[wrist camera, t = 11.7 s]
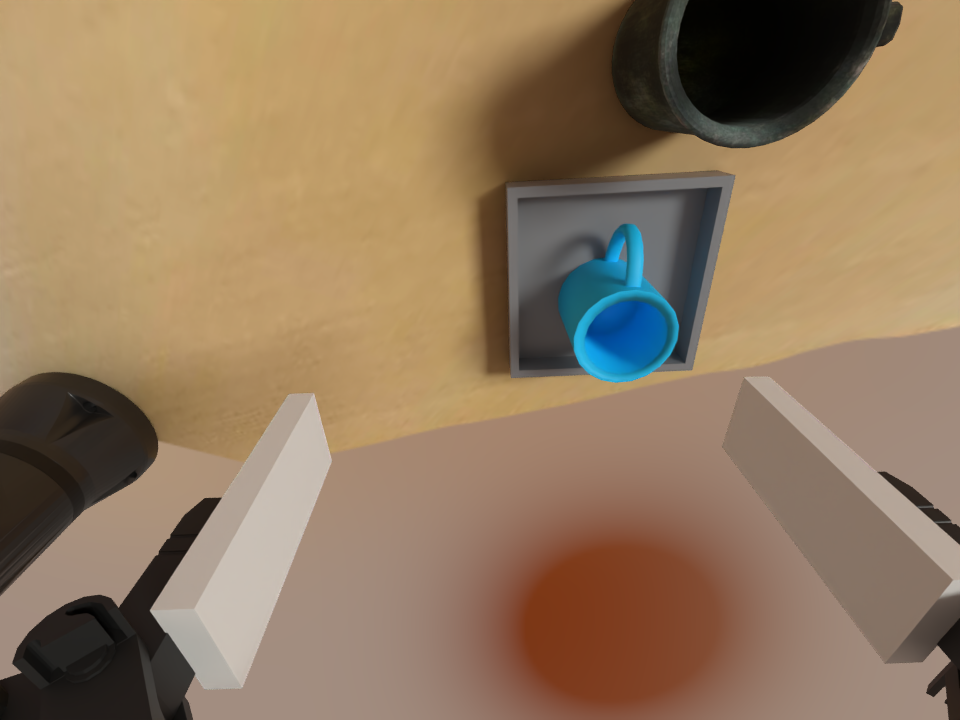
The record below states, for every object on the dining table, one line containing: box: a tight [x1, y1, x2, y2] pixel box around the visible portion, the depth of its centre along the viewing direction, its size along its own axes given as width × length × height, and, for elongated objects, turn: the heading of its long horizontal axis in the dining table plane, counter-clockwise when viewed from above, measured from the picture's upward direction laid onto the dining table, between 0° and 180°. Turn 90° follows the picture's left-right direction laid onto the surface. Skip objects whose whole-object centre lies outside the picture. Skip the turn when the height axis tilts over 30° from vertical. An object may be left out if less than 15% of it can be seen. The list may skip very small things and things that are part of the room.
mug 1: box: [558, 223, 679, 383], centre depth 37 cm, size 12×8×8 cm
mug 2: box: [612, 0, 903, 148], centre depth 27 cm, size 11×15×12 cm
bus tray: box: [505, 171, 735, 378], centre depth 40 cm, size 18×18×3 cm
